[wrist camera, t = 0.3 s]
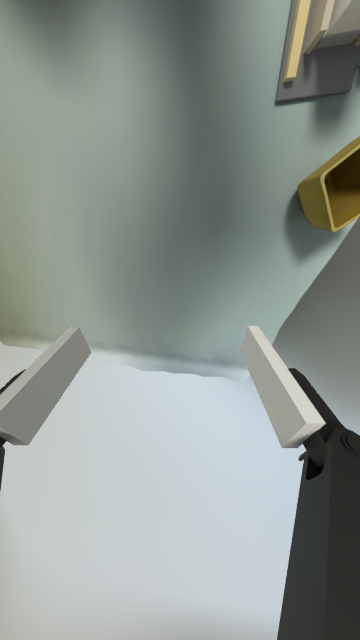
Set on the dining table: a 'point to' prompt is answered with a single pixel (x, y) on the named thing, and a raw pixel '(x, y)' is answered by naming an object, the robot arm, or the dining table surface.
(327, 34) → the block
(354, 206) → the flower pot
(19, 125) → the dining table surface
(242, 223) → the dining table surface
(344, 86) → the block
